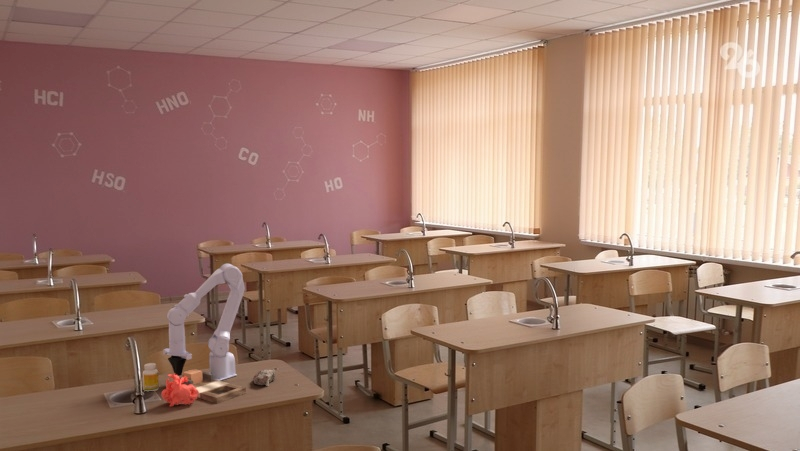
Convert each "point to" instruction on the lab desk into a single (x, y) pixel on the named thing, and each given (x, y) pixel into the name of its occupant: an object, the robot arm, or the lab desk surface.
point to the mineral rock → (264, 377)
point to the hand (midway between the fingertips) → (178, 375)
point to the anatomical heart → (179, 391)
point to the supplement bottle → (150, 377)
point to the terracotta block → (194, 375)
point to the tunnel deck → (215, 389)
